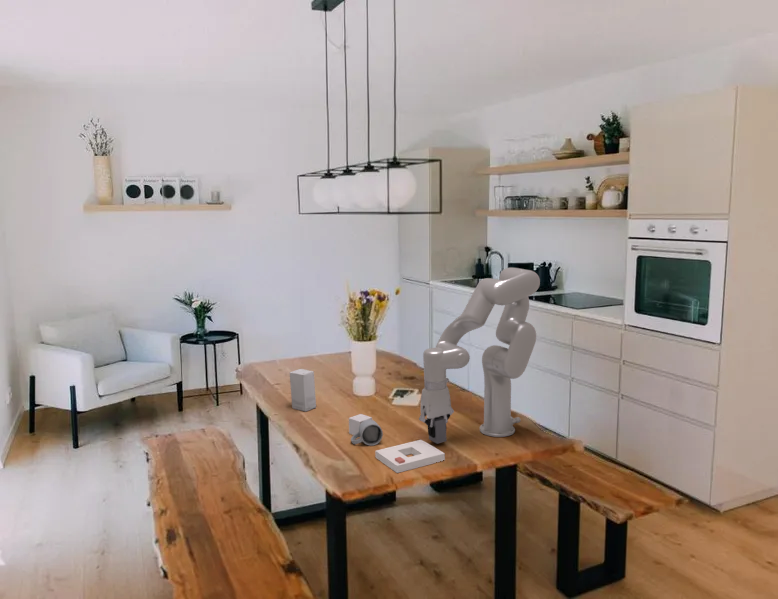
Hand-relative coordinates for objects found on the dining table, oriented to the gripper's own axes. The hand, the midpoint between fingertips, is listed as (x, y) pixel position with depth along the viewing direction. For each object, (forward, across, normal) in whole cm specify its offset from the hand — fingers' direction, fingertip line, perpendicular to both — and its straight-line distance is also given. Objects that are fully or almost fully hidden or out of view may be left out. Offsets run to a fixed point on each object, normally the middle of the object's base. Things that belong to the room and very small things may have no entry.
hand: (437, 434), depth 220 cm
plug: (+2, 0, 0) cm, 2 cm away
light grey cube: (+3, +18, -23) cm, 29 cm away
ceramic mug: (+3, +20, -14) cm, 25 cm away
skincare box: (+2, +25, -60) cm, 65 cm away
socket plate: (+3, +15, +6) cm, 16 cm away
